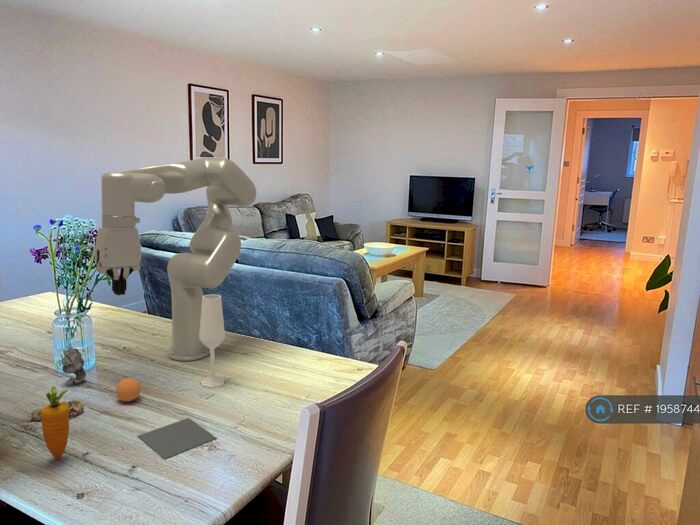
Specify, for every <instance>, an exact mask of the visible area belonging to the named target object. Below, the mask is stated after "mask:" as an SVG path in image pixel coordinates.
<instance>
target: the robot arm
mask: <svg viewBox="0 0 700 525" xmlns="http://www.w3.org/2000/svg"><path fill="white" fill-rule="evenodd" d="M205 187H206V189H205V190H206V199H207V200H206V201H207V214H206V216H205V218H204V219H203V221H202V222H201V223H200V225H199V226H198V228H197V229H196V230H195V232H194V233H193V235H192V237H191V239H190V240H189V241H190V242H189V249H190V251H191V253H190V252H179V253H176V254H174V255H172V257H171V258H169V260H168V263H167V269H166V270H167V271H166V272H167V277H168V281H169V286H170V293H171V325H172V326H171V329H172V330H171V332H172V333H171V335H172V347H171V348H169V349H167V353H166V354H167V357H168V358H169V359H171V360H175V361H179V362H180V361H182V362H187V361H188V362H189V361H190V362H191V361H196V360H201V359H204V358H206V357H208V356H210V349H209V348H207V347H206V346H205V345H204V344H203V343H202V342H201V341H200V339H199V331H200V320H201V309H202V297H203V296H205V294H204V291H203V289H202V288H204V289H216V288H217V287H219V286H220V285H222V283H223V281H224V280H225V278H227V276H228V274H229V272H230V271H231V270H232V268H233V266H234V264H235V262H236V261H237V260H238V257H239V256H240V253H241V248H242V240H241V237H240V235H239V234H238V233H237V232H235V231H234V230H232V229H231V228H232V226H233V218H232V214H231V212H230V209H229V206H237V207H238V206H239V207H248V206H251V205H252V204H253V203H254V202H255V201H256V198H257V188H256V185H255V183H254V182H253V181H252V180H251V178H250V177H249V176H248V175H247V174H246V172H244V171H243V169H241V167H240V166H239V165H238V164H236V163H235V162H234V161H232V159H228V158H225V157H224V158H222V157H200V158H196V159H194V158H193V159H189V160H185V161H180V162H176V163H167V164H161V165H156V166H149V167H147V166H146V167H141V168H134V169H130V170H125V171H120V172H104V173H103V174H102V176H101V227H98V229H97V231H96V232H97V233H96V241H95V249H94V263H95V265H96V269H95V270H96V272H97V273H98V274H106V275H107V276H108V277H109V278H111V291H112V292H113V294H114V295H116V296H124V295H126V291H127V280H128V279H129V277H130V275H131V274H132V273H133V272H137V271H139V270H141V263H142V262H141V261H142V248H141V240H140V235H139V229H138V228H137V227H136V225H137V224H140V222H141V218H140V217H136V215H135V214H136V213H135V212H136V211H135V209H136V206H135V203H137V202H138V203H147V204H148V203H149V204H150V203H151V204H153V203H156V202H159V201H161V200H162V199H163V198H164V195H165V194H167V195H168V194H171V195H172V194H173V195H174V194H183V193H188V192H190V191H191V192H192V191H194V190H199V189H202V188H205Z"/></svg>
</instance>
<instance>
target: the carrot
mask: <svg viewBox="0 0 700 525" xmlns="http://www.w3.org/2000/svg"><path fill="white" fill-rule="evenodd" d="M50 389H51V391H47V392H45V397H46V398H47V399H48V401H49V402H50V403H49V404H47V405H45V406H44V407H42V408H41V409H42V412H41V421H42V422H41V428H42V436H43V440H44V443H45V445H46V447H47V449H48V452H49V453H50V454H51V456H52V457H53V458H54V459H56V460H60V459H61V458H62V457H63V455H64V452H65V450H66V447H67V445H68V439H69V438H68V437H69V430H70V419H69V407H68V405H67V404H65V403H60V402H61V401H60V400H61V398H62V397H63V396H64V394H66V393H67V392H68V391H69V390H68V389H64V390H62V391H61V392H60V393H59V395H57V394H58V390H57V387H56V386H55V385H54V386H51V388H50Z"/></svg>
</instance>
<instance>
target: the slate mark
mask: <svg viewBox="0 0 700 525" xmlns="http://www.w3.org/2000/svg"><path fill="white" fill-rule="evenodd" d="M213 435H214V434H212V433H211V432H209V431H208V430H206V429H205V428H204V427H202V426H201V425H199V424H198V423H197V422H195V421H194V420H192V419H191V418H189V417H187V418H184V419H181V420H179V421H176V422H174V423H171V424H167V425H164V426H161V427H159V428H155V429H153V430H150V431H147V432H143V433H142V434H139V435H137V437H138V439H139V440H141V441H142V442H144V443H145V444H146V445H147V446H148V447H149V448H151V449H152V450H153V451H154V452H155V453H156V452H157V453H158V454H157V453H156V454H157V455H159V456H160V457H161V458H162V459H163V460H164V459H165V460H167V459H170V458H172V457H174V456H173V455H175V456H176V454H177V455H179V454H178V453H180V454H182V453H185V452H186V450H187V451H189V449H190V450H192V449H195V448H197V447H199V446H198V445H200V446H202V445H204V444H203V443H205V444H207V443H209V441H210V442H212V441H214V440H213V439H215V440H216V438H217V439H218V437H217V436H215V435H214V436H215V437H214V436H213ZM211 440H212V441H211ZM206 442H207V443H206ZM201 444H202V445H201ZM196 446H197V447H196ZM194 447H195V448H194ZM191 448H192V449H191ZM184 451H185V452H184ZM181 452H182V453H181ZM171 456H172V457H171ZM169 457H170V458H169ZM166 458H167V459H166Z"/></svg>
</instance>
